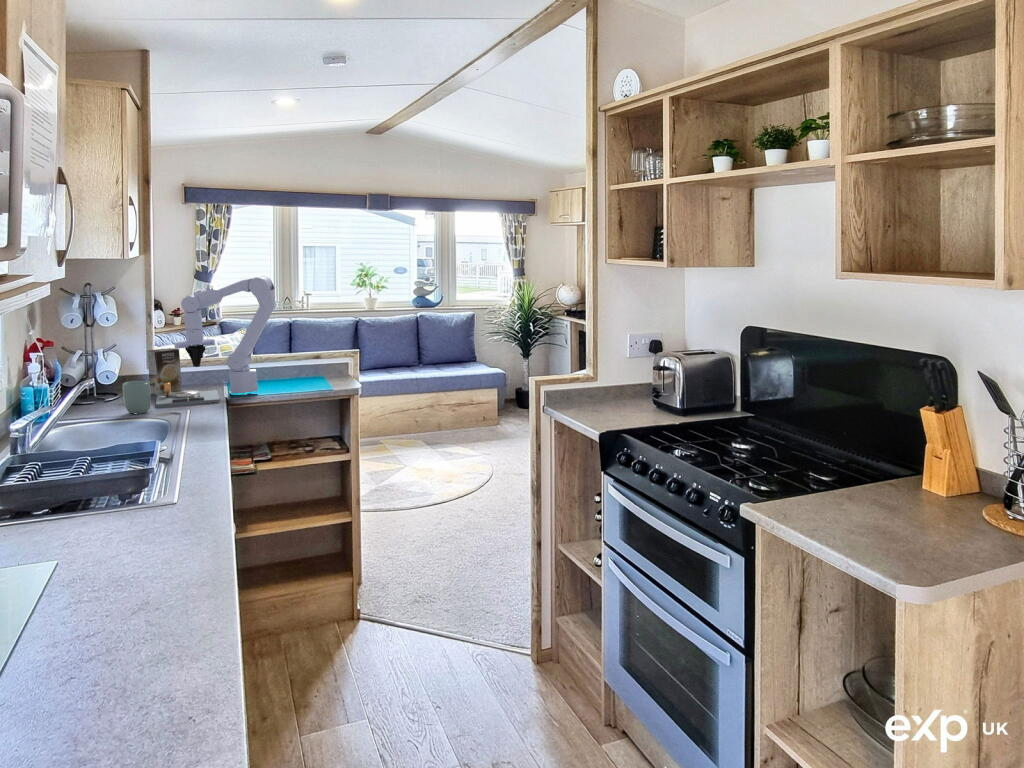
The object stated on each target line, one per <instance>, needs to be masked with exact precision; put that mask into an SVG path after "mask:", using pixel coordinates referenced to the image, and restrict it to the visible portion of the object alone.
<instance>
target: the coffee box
mask: <svg viewBox="0 0 1024 768" xmlns="http://www.w3.org/2000/svg"><path fill="white" fill-rule="evenodd" d="M146 352H147V363H148V364H147V365H148V368H147V369H148V377H149V378H148V379H149V380H148V381H149V383H150V392H151V395H156V396H157V394H165V387H164V383H170V384H171V392H181V391H183V385H182V371H181V370H182V369H181V356H180V354H181V353H180V349H176V348H175V347H173V348H171V347H168V348H158V349H157V348H156V349H148V350H146Z"/></svg>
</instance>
